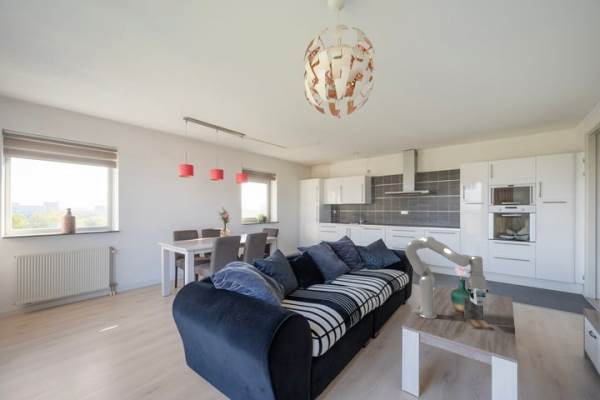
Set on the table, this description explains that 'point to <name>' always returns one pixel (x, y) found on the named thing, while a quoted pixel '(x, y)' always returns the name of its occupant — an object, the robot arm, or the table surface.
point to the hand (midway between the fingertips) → (477, 298)
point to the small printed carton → (474, 315)
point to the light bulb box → (479, 297)
